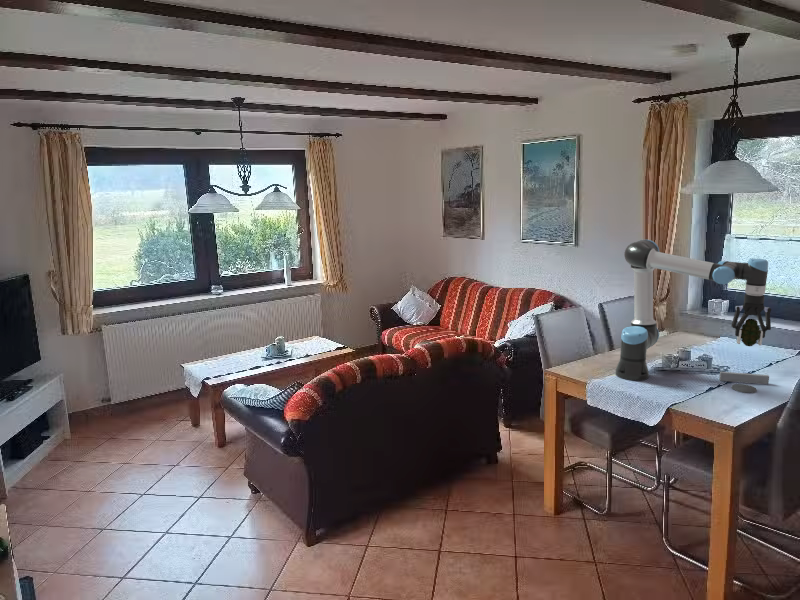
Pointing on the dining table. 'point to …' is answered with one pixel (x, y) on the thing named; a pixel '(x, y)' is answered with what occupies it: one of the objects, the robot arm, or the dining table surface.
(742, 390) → the pad
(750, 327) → the grenade
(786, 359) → the dining table surface
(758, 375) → the low wall
